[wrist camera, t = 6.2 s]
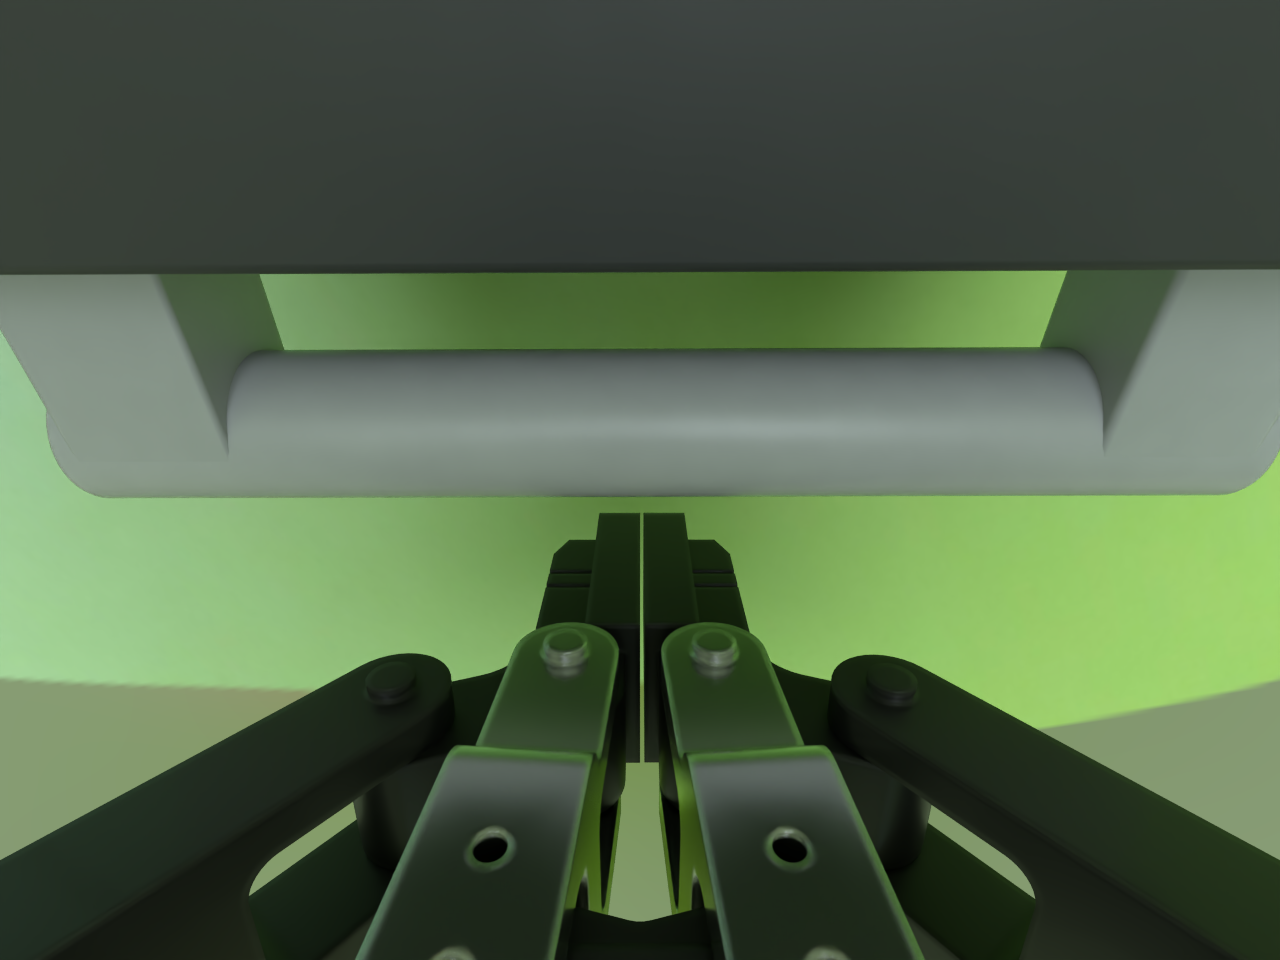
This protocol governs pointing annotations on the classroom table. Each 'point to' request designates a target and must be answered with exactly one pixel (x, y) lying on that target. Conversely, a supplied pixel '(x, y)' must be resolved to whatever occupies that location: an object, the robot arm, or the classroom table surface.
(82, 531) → the classroom table surface
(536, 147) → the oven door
